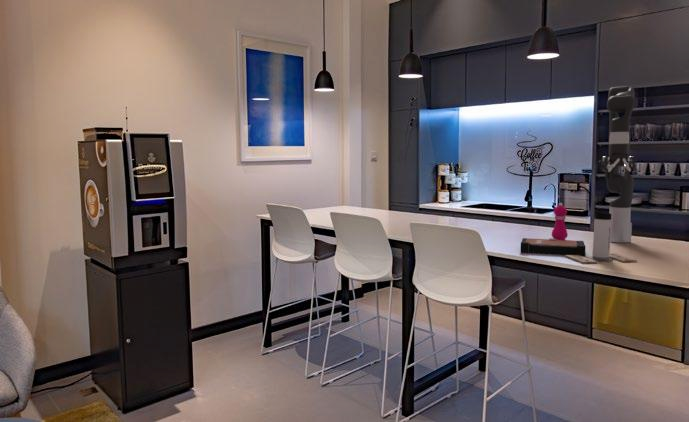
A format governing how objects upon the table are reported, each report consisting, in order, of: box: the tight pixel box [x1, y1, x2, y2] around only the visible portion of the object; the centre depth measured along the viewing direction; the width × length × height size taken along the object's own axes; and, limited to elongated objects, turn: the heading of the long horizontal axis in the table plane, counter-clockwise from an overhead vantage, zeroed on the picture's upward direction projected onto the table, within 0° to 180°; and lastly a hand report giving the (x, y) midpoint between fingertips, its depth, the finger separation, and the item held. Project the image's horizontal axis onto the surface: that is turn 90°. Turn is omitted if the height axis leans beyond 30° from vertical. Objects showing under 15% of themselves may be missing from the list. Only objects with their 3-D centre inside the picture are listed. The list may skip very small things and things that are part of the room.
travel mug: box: [592, 210, 611, 260], centre depth 214 cm, size 6×7×20 cm
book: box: [520, 237, 586, 257], centre depth 234 cm, size 26×18×5 cm
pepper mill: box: [551, 202, 568, 240], centre depth 252 cm, size 7×7×20 cm
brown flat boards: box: [564, 253, 638, 265], centre depth 215 cm, size 23×14×1 cm, turn 96°
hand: (617, 180), depth 225 cm, fingers open, 8 cm apart
